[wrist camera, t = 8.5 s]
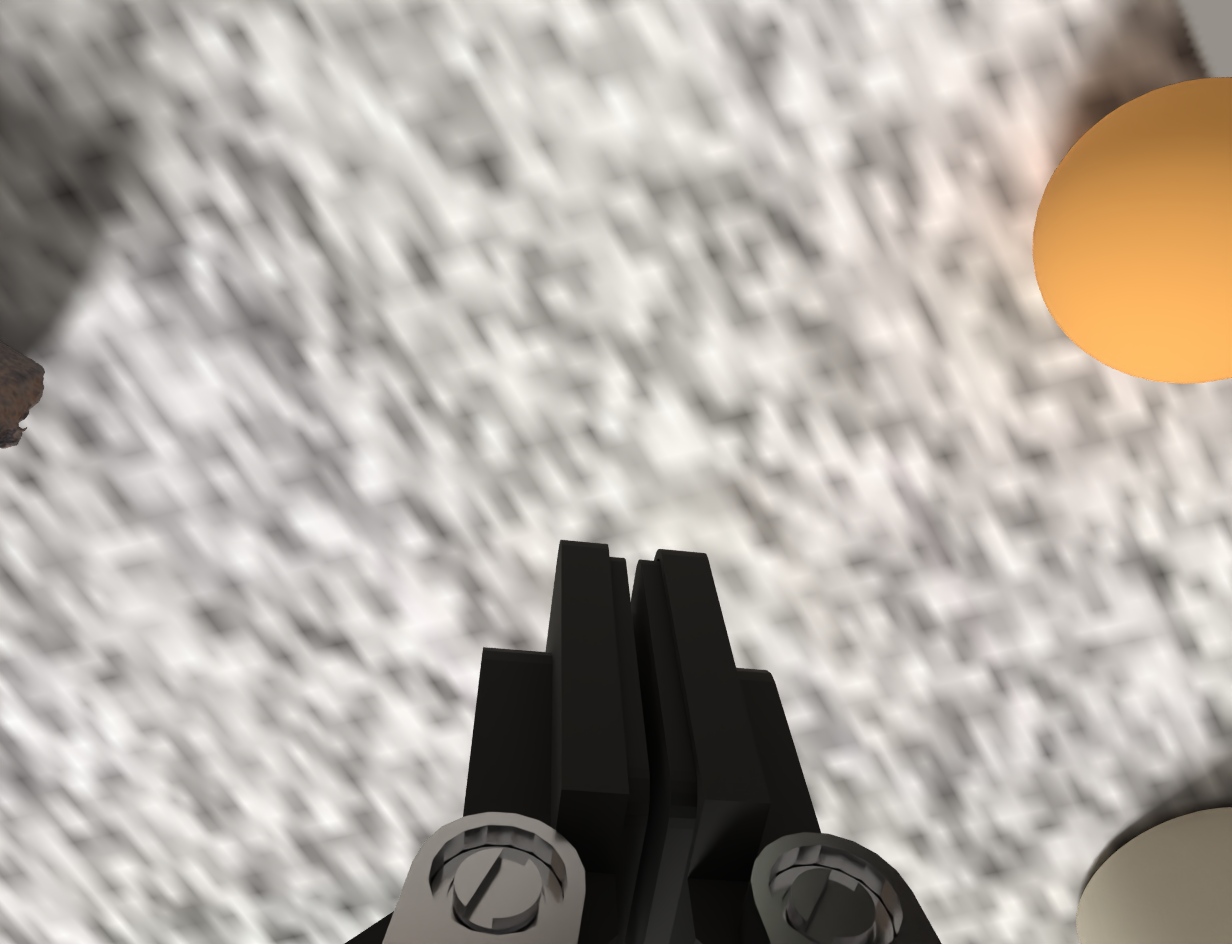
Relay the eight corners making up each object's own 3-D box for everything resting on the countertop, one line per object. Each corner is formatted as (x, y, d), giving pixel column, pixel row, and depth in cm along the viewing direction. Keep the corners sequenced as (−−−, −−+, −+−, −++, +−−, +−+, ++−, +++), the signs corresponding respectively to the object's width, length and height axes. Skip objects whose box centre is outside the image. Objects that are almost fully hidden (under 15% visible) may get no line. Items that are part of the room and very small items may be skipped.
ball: (1371, 312, 22) (1140, 472, 23) (1171, 133, 24) (963, 283, 25) (1531, 163, 17) (1221, 380, 17) (1254, -51, 19) (984, 146, 19)
